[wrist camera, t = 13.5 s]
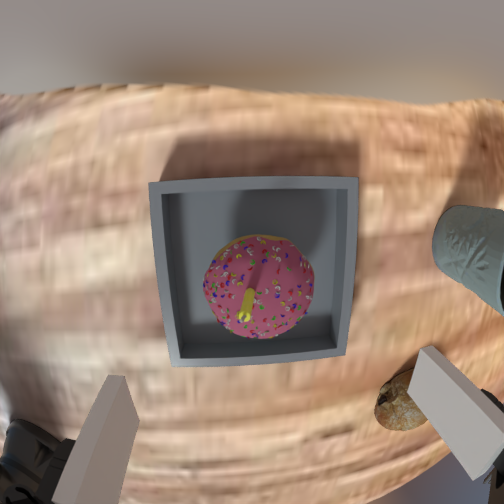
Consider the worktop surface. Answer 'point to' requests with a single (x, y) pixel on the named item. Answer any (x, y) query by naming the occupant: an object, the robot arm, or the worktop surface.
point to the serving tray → (242, 224)
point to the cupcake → (259, 286)
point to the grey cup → (473, 250)
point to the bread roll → (398, 405)
